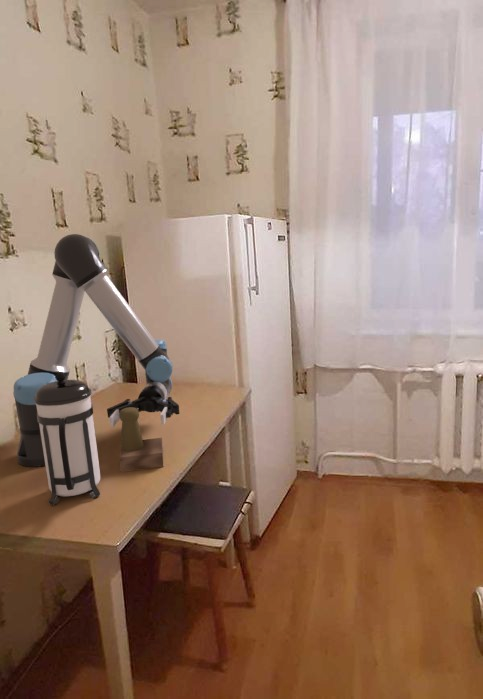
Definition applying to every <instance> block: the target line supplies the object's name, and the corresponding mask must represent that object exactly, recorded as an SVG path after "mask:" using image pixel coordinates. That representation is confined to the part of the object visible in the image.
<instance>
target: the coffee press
mask: <svg viewBox="0 0 483 699" xmlns="http://www.w3.org/2000/svg"><path fill="white" fill-rule="evenodd" d="M65 377H66V376H65V374H64V373H62V372H59V373H57V374H56V376H55V378H56V380H57V381H55V382H51V383H48V384H46V385H44V386H42V387H40V388H39V389H38V390H37V392H36V395H35V397H34V403H35V404H36V406H37V420H38V423H39V426H40V433H41V439H42V446H43V453H44V459H45V465H44V466H45V471H46V476H47V477H46V478H47V483H48V485H47V486H48V489H49V491H50V492H51V495H50V498H49V500H48V503H49V505H51V506H52V505H53V506H57V505H58V503H59V502H60V500H61V498H62V497H73V496H78V495H82V494H85V493H88V494H89V495H90V497H91V498H93V499H96V498H98V497H100V496H101V492H100V489H98V487H97V486H98V485H99V483H100V481H101V471H100V462H99V454H98V446H97V439H96V430H95V424H94V406H93V403H92V399H91V396H92V389H91V388H90V387H89V386H88V384H87V383H86V382H84V381H82V380H79V379H68V380H65Z"/></svg>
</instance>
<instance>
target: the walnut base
mask: <svg viewBox="0 0 483 699" xmlns="http://www.w3.org/2000/svg"><path fill="white" fill-rule="evenodd" d="M143 443H144V447H143V448H141V449H139V450H136V451H123V450H122V449H120V453H119V456H118V457H119V458H118V459H119V460H118V461H119V465H120V466H119V467H120V472H121V473H123V472H124V473H125V472H131V471H133V472H134V471H139V470H148V469H156V468H157V469H158V468H164V446H163V438H162V437H156V438H154V437H153V438H148V439H143ZM121 448H122V446H121Z"/></svg>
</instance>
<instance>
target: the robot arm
mask: <svg viewBox="0 0 483 699" xmlns="http://www.w3.org/2000/svg"><path fill="white" fill-rule="evenodd" d="M53 254H54V260H55V261H54V267H53V270H52V274H51V275H52V277H53V279H54V280H55V285H54V288H53V293H52V297H51V300H50V305H49V309H48V313H47V317H46V322H45V325H44V330H43V333H42V338H41V341H40V346H39V350H38V354H37V357H36V358H34V359H32V360H31V361H30V364H29V368H28V370H27V372H28V373H27V374H26V375H24V376H21V377H20V378H18V379H16V380H15V382H14V384H13V398H14V400H15V401H14V402H15V407H16V414H17V421H18V425H19V426H18V427H19V432H20V437H19V441H18V448H17V453H16V456H17V462H18V464H19V465H21V466H23V467H33V468H35V467H43V466H45V459H44V453H43V446H42V439H41V433H40V426H39V423H38V420H37V406H36V404H35V403H34V397H35V395H36V392H37V390H38V389H39V388H40V387H42V386H44V385H46V384H48V383H51V382H55V381H57V380H56V378H55V376H56V374H57V373H59V372H62V373H64V374H65V376H66V377H65V380H69V375H70V372H71V371H70V370H71V369H70V367H69V365H68V364H67V363H68V358H69V354H70V350H71V348H72V347H71V346H72V343H73V338H74V334H75V331H76V327H77V323H78V319H79V315H80V312H81V307H82V304H83V299H84V295H85V293H86V295H87V296H88V297H89V299H90V300H91V301H92V302H93V304H94V305H95V307H96V308H97V309H98V311H100V313H101V315H103V317H104V318H105V319H106V320H107V322H108V324H109V325H110V326H111V327H112V329H113V330H114V331H115V332H116V334H117V335H118V336H119V338H120V339H121V340H122V342H123V343H124V344H125V346H126V347H127V348H128V349H129V350H130V352H131V354H132V355H133V356H134V358H135V359H136V361H138V363H139V364H140V365H141V367H142V368H143V369H144V373H145V384H146V385H145V387H143V389H142V390H141V392H140V393H139V395H138V396H137V397H138V398H137V399H135V400H132V401H131V399H130V398H127V399H125V400H124V401H122V402H118V404H115V405H112V406H110V407H109V408H106V411H107V418H109V424H110V428H114V427H115V426H116V425H117V423H118V422H119V421H120V420H121V419H120V417H119V413H120V411H121V410H122V409H124V408H128V407H134V408H137V410H138V411H139V413H140V412H147V413H155V412H161V413H160V424H161V425H165V423H166V422H167V420H168V418H171V417H172V416H173V415H180V405H179V404H178V403H177V402H176V401H174V400H173V398H172V396H169V395H170V394H171V392H172V388H173V387H172V386H173V382H172V378H171V377H172V374H173V362H172V361H171V360H170V358H169V356H168V348H167V344H166V341H165V340H164V339H154V337H153V335H152V334H151V333H150V332H149V330H148V329H147V328H146V327H145V325H144V323H143V322H142V321H141V319H140V318H139V317H138V315H137V314H136V313H135V311H134V310H133V308H132V307H131V306H130V305H129V303H128V302H127V300H126V299H125V298H124V296H123V295H122V293H121V292H120V291H119V290H118V288H117V287H116V286H115V284H114V282H113V281H112V280H111V279H110V277H109V275H108V269H107V267H106V266H105V264H104V263H103V261H102V260H101V258H100V250H99V248H98V246H97V244H96V243H95V242H94V241H93V240H92V239H90V238H89V237H87V236H85V235H82V234H78V233H72V234H67V235H65V236H62V238H60V239H59V241H58V242H57V243H56V245H55V248H54V253H53Z"/></svg>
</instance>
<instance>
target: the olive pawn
mask: <svg viewBox="0 0 483 699" xmlns="http://www.w3.org/2000/svg"><path fill="white" fill-rule="evenodd" d="M137 409H138V408H134V407H128V408H124V409H122V410H121V411H120V413H119V417H120V419H119V420H120V421H121V447H122V448H121V449H122V450H123V451H136V450H139V449H141V448H143V447H144V443H143V440H144V439H143V437H142V432H141V427H140V422H139V420H138V419H139V418H140V412H139V411H138V410H137ZM121 449H120V450H121Z"/></svg>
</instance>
